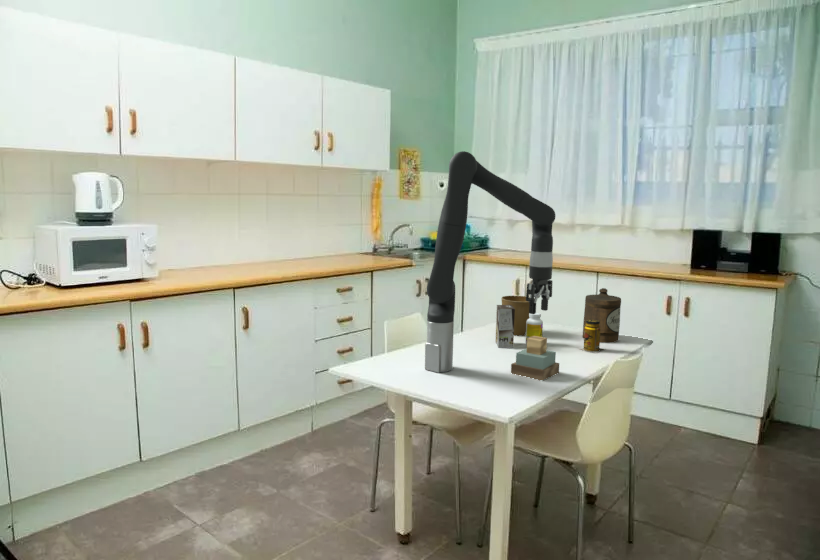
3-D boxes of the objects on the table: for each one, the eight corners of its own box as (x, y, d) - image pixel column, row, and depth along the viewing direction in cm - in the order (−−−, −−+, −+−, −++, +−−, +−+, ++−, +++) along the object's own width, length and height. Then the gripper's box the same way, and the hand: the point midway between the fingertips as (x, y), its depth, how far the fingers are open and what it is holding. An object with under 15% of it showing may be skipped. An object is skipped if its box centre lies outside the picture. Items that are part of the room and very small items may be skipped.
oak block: (539, 355, 201) (540, 340, 200) (526, 352, 204) (527, 338, 203) (546, 352, 205) (547, 338, 204) (533, 349, 208) (533, 335, 207)
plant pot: (503, 337, 256) (504, 301, 253) (497, 329, 270) (499, 295, 268) (537, 338, 256) (539, 301, 253) (530, 330, 271) (531, 295, 268)
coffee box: (513, 348, 239) (515, 308, 236) (497, 347, 239) (499, 308, 237) (510, 342, 248) (512, 304, 245) (495, 342, 248) (496, 304, 246)
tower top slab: (543, 369, 198) (543, 358, 198) (515, 364, 204) (516, 353, 204) (555, 363, 206) (555, 351, 206) (528, 358, 212) (529, 347, 212)
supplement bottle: (542, 346, 242) (543, 315, 240) (525, 345, 243) (527, 314, 241) (541, 342, 249) (542, 312, 247) (525, 341, 250) (526, 311, 248)
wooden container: (617, 344, 247) (620, 292, 244) (580, 340, 253) (583, 289, 249) (619, 336, 260) (623, 287, 257) (584, 333, 266) (587, 284, 263)
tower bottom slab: (542, 382, 198) (542, 370, 197) (510, 375, 205) (511, 363, 205) (558, 374, 207) (559, 363, 206) (528, 367, 214) (528, 356, 214)
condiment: (579, 349, 238) (580, 320, 236) (590, 346, 244) (591, 317, 242) (595, 353, 233) (597, 323, 231) (606, 349, 238) (608, 320, 237)
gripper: (541, 267, 193) (538, 316, 195) (560, 264, 203) (558, 310, 206) (520, 265, 197) (518, 313, 200) (540, 262, 208) (538, 307, 210)
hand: (538, 311), depth 203 cm, fingers open, 8 cm apart
